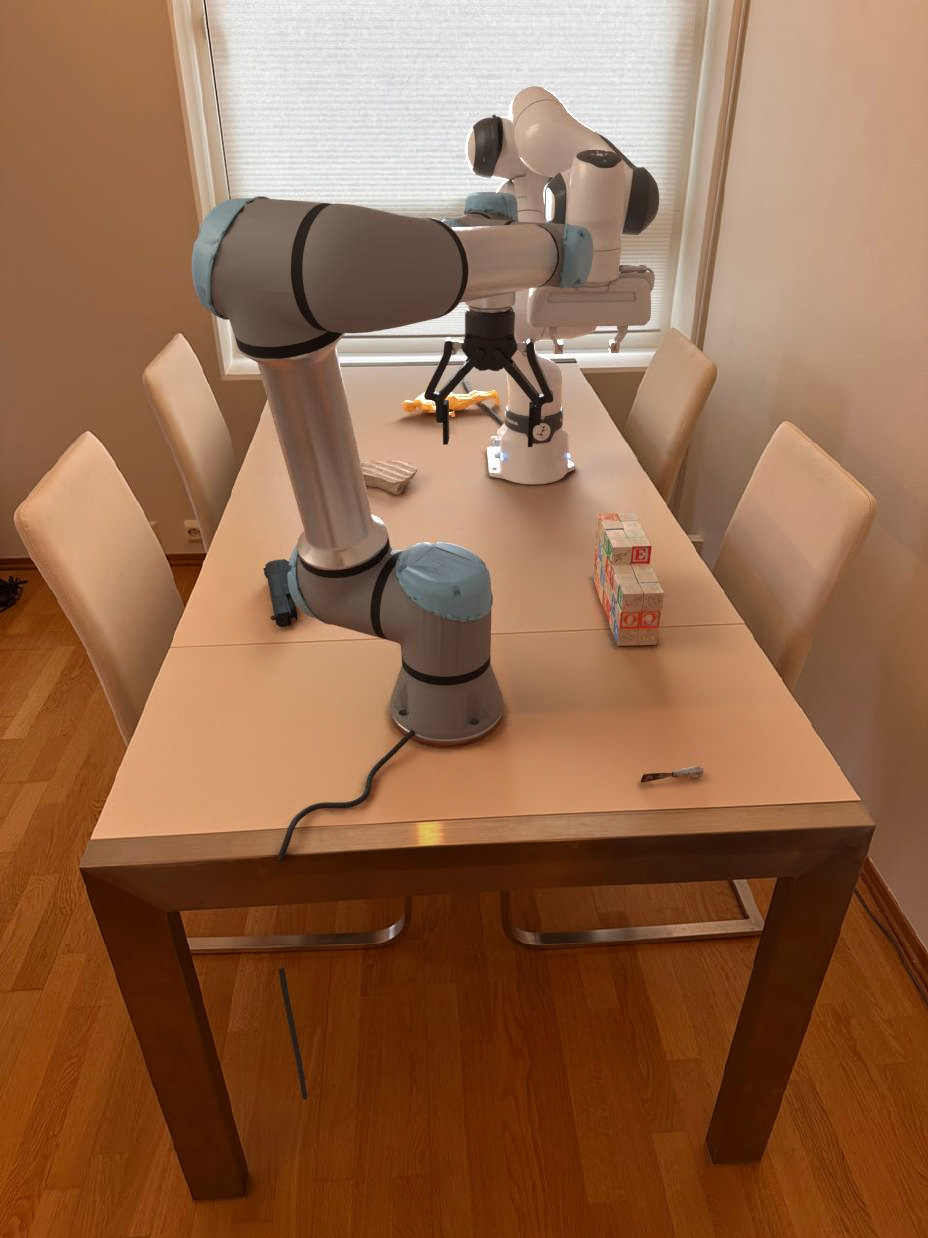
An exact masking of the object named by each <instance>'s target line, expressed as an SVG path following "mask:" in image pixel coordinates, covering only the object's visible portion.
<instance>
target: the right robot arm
mask: <svg viewBox="0 0 928 1238" xmlns="http://www.w3.org/2000/svg"><path fill="white" fill-rule="evenodd" d="M465 154H466V159H467V162H468V166H469V169H470V171H471V172H472V174H473V175H474V176H476V177H479V178H482V179H486V180H491V179H497V180H498V179H499V180H504V181H503V182H502V183H501V184H500V185H499V186H498V188H497V190H496V192H504V193H510V194H513V195H514V196H515V197H516V199H517V205H518V220H519V222H536V223H551V224H569V225H575V226H582V227H585V228H587V229H588V230H589V232H590V234H591V236H592V240H593V260H592V266H591V270H590V273H589V276H588V278H587V280H586V282H585V283H584V284H583V285H582V286H581V287H579V288H562V289H560V288H559V287H550V286H543V287H538V288H532V289H527V290H522V291H517V292H516V295H515V304H514V305H513V306H512V308H513V309H514V310H515V332H514V337H515V340H516V342H523V341H527V340H528V339H533V340H534V343H535V344H536V343H537V342H542V341H543V342H544V341H552V353H553V355H563V354H564V342H563V340H564V341H565V340H573V339H577V338H582V337H583V336H588V335H592V334H594V333H595V331H596V330H597V329H598V328H599V327H616V330H617V331H618V332H617V334H616V336H615V337H614V339H609V340H608V352H609V353H610V354H619V353H620V348H621V347H620V344H621V343H622V342H623V340H624V338H625V337H626V336H627V334H628V331H629V327H639V326H640V327H641V326H646V325H647V324H648V323H649V322H650V320H651V317H652V296H651V295H652V294H651V293H652V292H653V290H654V287H655V279H656V276H655V272H654V271H653V270H652V268H650V267H648V265H646V264H638V265H631V264H621V255H622V239H621V235H625V236H626V235H628V236H639V235H641V233H643V231H645V230H646V229H647V228H648V227H649V226H650V225H651V224H652V223H653V222H654V220H655V219H656V217H657V214H658V212H659V208H660V191H659V185H658V183H657V181H656V179H655V178H654V176H653V175H652V174H651V173H650V171H648V169H647V168H645V167H643V166H640V167H639V166H636V165H635V163H633V162H632V161H631V160H630V159H629V158H628V157H627V156H626V155H625V154H624V153H623V152H622V151H621V150H620V149H619V148H618V147H616V145H614V143H612V141H610V140H609V139H608V138H607V137H605V136H604V135H602V134H601V133H599V132H598V131H595V130H594V129H592V128H590V127H589V126H587V125H585V124H584V123H582V122H581V121H580V120H578V119H577V118H576V117H574V116H573V115H572V114H571V113H570V112H569V110H568V108H567V107H566V105H565V104H564V103H563V102H562V101H561V99H560V98H558V96H556V95H555V94H554V93H553V92H551V91H550V90H548V89H547V88H545V87H542V86H538V85H533V86H528V87H525V88H523V89H522V90H520V91H519V92H518V93H517V94H516V95H515V96H514V98H513V99H512V101H511V103H510V105H509V110H508V115H507V116H498V115H496V114H495V113H494V114H491V115H490V116H489V117H484V118H482V119H479V120H477V121H476V122H474V123H473V124H472V126H471V127H470V129H469V133H468V135H467V139H466V144H465ZM535 354H536V356H537V358H538V360H539V363H540V365H541V367H542V369H543V372H544V374H545V376H546V378H547V380H548V383H549V385H550V387H551V389H552V392H553V402H551V403H545V404H543V405H542V408H541V423H540V425H539V426H536V425H533V444H532V447H528V426H529V403H530V402H532V401H531V400H530V399H529V398H528V396H527V395H526V394H525V393H524V391H523V390H522V389H521V388H520V386H519V385H518V384H517V383H516V382H515V380H514V379H513V378H512V377H511V375H509V374H508V373H507V371H506V370H505V372H506V377H507V378H506V380H507V405H506V407H505V411H504V419H502V418H501V417H500V416H499V415H497V413H495V411H493V410H492V409H491V408H489V407H488V406H487V405H486V404H485V403H484V402H483V401H482V402H478V403H477V404H478V405H480V406H481V407H482V408H483V409H484V410H485V411H487V412H488V413H489V414H490V415H491V416H492V417H493V418H495V419H496V421H498V422H499V423H500V424H501V426H500V427H499V428H498V429H497V432H496V436H491V437H490V446H489V447H487V449H486V458H487V469H488V476H489V477H491V478H496V479H503V480H506V481H508V482H512V483H516V484H522V485H546V484H552V483H555V482H558V481H560V480H562V479H563V478H564V477H565V476H566V474H568V473H571V472H572V471H574V470H575V464H574V463H573V462H572V461H571V460H569V459H571V454H570V453H569V433H568V432H567V431H566V430H565V429H564V428H563V425H564V416H565V415H564V408H563V406H562V403H563V386H564V385H563V384H564V383H563V381H564V374H563V371H562V369H561V367H560V365H558V363H556V362H555V361H554V360H552V359H550V358H548V357H546V356H544V355H542V354H540V353H538V352H537V351H536V350H535ZM512 359H513V361H514V362H515V363H516V365H517V367H518V368H519V369H520V370H521V372H522V373H523V374H524V375H525V377H526V378H527V379H528V380H529V382H530V383H531V384H532V385H533V387H534V388H535V389H536V390H537V392H538V393H539V394H543V393H542V391H541V389H540V386H539V384H538V382H537V380H536V378H535V375H534V373H533V371H532V369H531V367H530V365H529V362H528V359H527V356H523V355H522V353H521V351H519V350H517V351H516V352H515V354H514V355H513V356H512ZM462 382H463V385H464V387H465V389H466V391H467V393H468V394H469V393H471V392H473V391H472V390H471V388H470V386H469V384H468V382H467V379H466V378H465V377H464V378H463V379H462Z"/></svg>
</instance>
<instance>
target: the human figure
mask: <svg viewBox="0 0 928 1238" xmlns="http://www.w3.org/2000/svg"><path fill="white" fill-rule="evenodd" d="M424 391H426V389H424ZM424 394H425V392H423V393H422V394H420V395H418V396H416V398H415V399H414V400H404V401H403V402H402V411H404V412H405V413H410V414H412V413H414V412H417V408H418V409H420V410H421V411H423V412H424V413H427V414H436V404H435V402H434V401H431V400H426V399H425V398H424ZM445 400H449V416H450V417H451V418H452V417H453V418H454V417H455V416H456V414H455V411H462V410H464V409H467V408H469V407H471V406H473V405H476V404H479V403H478V402H482V403H483V402H484V401H488V400H493V402H494V403H495V404H496V405H497V406H500V398H499V393H498V392H497V391H496V390H495V389H493V390H491V391H478V390H473V391H472V392H471V393H469V392H468V394H460V393H457V394H455V393H453V392H451V393H450V394H449V395H448V397H447V398H446V399H445ZM450 410H452V411H450Z"/></svg>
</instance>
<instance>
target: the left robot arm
mask: <svg viewBox="0 0 928 1238" xmlns="http://www.w3.org/2000/svg"><path fill="white" fill-rule="evenodd" d="M464 202H465V203H464V210H463V215H458V216H454V217H445V218H443V219H437V218H433V217H415V216H411V215H404V214H399V213H395V212H390V211H386V210H382V209H377V208H372V207H369V206H362V205H356V204H351V203H339V202H338V203H336V202H335V203H330V202H322V201H321V202H320V201H308V200H307V201H306V200H305V201H304V200H293V199H292V200H290V199H277V198H270V197H268V196H263V195H262V196H260V195H257V196H254V197H235V198H230V199H226V200H224V201H222V202H220V203H218V204H216V205H215V206H214V207H213V208H212V209H211V210H210V211H209V212H208V213H207V214H206V216H205V217H204V219H203V220H202V222H201V224H200V226H199V228H198V233H197V234H198V235H197V238H196V240H194V243H193V246H192V254H191V276H192V277H191V278H192V284H193V288H194V290H195V293H196V296H197V298H198V300H199V301H200V304H201V305H202V306H203V308H205V309H206V311H208V312H211V313H212V315H214V316H215V317H217V318H219V319H222V320H225V321H229V323H230V326H231V329H232V333H233V336H234V340H235V343H236V346H237V349H238V352H240V354H241V355H243V356H244V357H246V358H247V359H250V360H251V361H253V362H255V363H257V367H258V370H259V373H260V378H261V382H262V385H263V388H264V392H265V396H266V399H267V402H268V406H269V410H270V413H271V416H272V420H273V423H274V427H275V431H276V434H277V438H278V441H279V445H280V449H281V453H282V456H283V459H284V463H285V466H286V470H287V473H288V477H289V481H290V485H291V488H292V491H293V495H294V499H295V502H296V506H297V509H298V513H299V516H300V521H301V523H302V527H303V530H302V532H301V533H300V535H299V536H298V538H297V542H296V544H295V546H294V548H293V550H292V552H291V555H290V557H289V560H288V561H289V565H290V566H291V571H290V572H288V575H287V576H288V587H289V591H290V594H291V597H292V599H293V601H294V603H295V604H296V608H297V609H299V611H301V613H303V614H305V616H308V617H311V618H313V619H315V620H318V621H319V622H321V623H323V624H326V625H328V626H329V625H330V626H335V627H340V628H343V629H346V630H350V631H354V632H358V633H361V634H365V635H368V636H371V637H374V638H375V637H376V638H379V639H383V640H386V641H390V642H393V643H396V644H399V645H400V655H401V667H400V669H399V672H398V675H397V678H396V681H395V684H394V687H393V690H392V693H391V696H390V718H391V721H392V724H393V725H394V727H395V728H396V729H397V731H398V732H399V733H400V734H402V735H403V737H402V738H401V739H400V740H399V741H398V742H397V743H396V744H395V746H393V747H392V748H391V749H390V750H389V751H388V752H387V753H386V754H385V755H384V756H383V757H381V759H379V761H377V762H376V764H375V765H374V766H373V767H372V768H371V770H370V771H369V773H368V775H367V777H366V781H365V787H364V791H363V793H362V794H361V795H360V796H359V797H357V798H355V799H353V800H350V801H338V802H337V801H336V802H334V801H331V802H330V801H329V802H328V801H327V802H326V801H325V802H318V803H314V804H311V805H309V806H306V807H305V808H304V809H302V810H301V811H299V812H298V813H297V814H296V815H294V817H293V818H292V819H291V821H290V822H289V825H288V827H287V829H286V832H285V835H284V838H283V841H282V844H281V847H280V849H279V852H278V854H277V855H278V856H277V861H281V862H282V860H284V859H285V857H286V853H287V851H288V848H289V845H290V842H291V839H292V836H293V833H294V831H295V828H296V827H297V824H298V823H300V822H301V820H302V819H303V818H305V817H306V816H307V815H309V814H310V813H313V812H314V811H318V810H323V809H337V810H338V809H350V808H354V807H357V806H359V805H361V804H362V803H364V802H365V801H366V800H367V799H368V797H369V796H370V793H371V791H372V785H373V780H374V777H375V776H376V774H377V773H378V772H379V771H380V769H381V768H382V767H383V766H384V765H385V764H386V763H387V762H388V761H389V760H390V759H392V758H393V757H394V756H395V755H396V754H397V752H399V751H400V750H401V749H402V747H404V745H406V743H407V742H409V741H410V740H411V741H413V742H415V743H417V744H420V745H421V744H422V745H425V746H430V747H437V748H454V747H455V748H457V747H463V746H467V745H471V744H473V743H476V742H480V741H481V740H483V739H485V738H486V737H488V736H489V735H491V734H492V733H493V732H494V731H495V730H496V729H498V727H499V726H500V724H501V722H502V720H503V717H504V697H503V693H502V690H501V687H500V685H499V682H498V679H497V677H496V674H495V672H494V668H493V666H492V664H491V654H492V653H491V651H492V649H491V648H492V647H491V645H492V611H493V610H492V608H493V607H492V606H493V603H494V602H493V601H494V596H493V591H492V580H491V579H492V578H491V574H490V570H489V568H488V567H487V565H486V563H485V562H484V560H483V559H482V558H481V557H480V556H479V555H477V554H476V553H474V552H473V551H471V550H470V549H468V548H466V547H464V546H460V545H458V544H455V543H451V542H444V541H435V543H431V542H429V541H424V542H418V543H415V544H413V545H410V546H408V547H407V548H405V549H403V550H401V549H396V548H393V547H392V545H391V542H390V537H389V531H388V528H387V525H386V524H385V523H384V521H382V520H381V518H379V517H378V516H376V515H374V514H372V510H371V505H370V501H369V496H368V491H367V485H365V481H364V476H363V471H362V467H361V463H362V462H361V458H360V454H359V449H358V444H357V440H356V435H355V429H354V425H353V421H352V414H351V412H350V411H351V410H350V406H349V403H348V397H347V396H348V395H347V392H346V387H345V384H344V377H343V374H342V369H341V364H340V360H339V355H338V349H337V345H338V343H339V342H340V341H341V340H342V338H343V337H344V335H345V334H368V333H374V332H380V331H385V330H391V329H396V328H401V327H406V326H410V325H414V324H419V323H422V322H427V321H432V320H436V319H439V318H442V317H444V316H447V315H448V314H450V313H452V312H453V311H454V310H455V309H456V308H457V307H458V306H459V305H460V304H462V303H464V304H465V305H466V306H467V308H466V309H465V310H464V338H463V340H459V339H454V338H453V337H452V336H448V337H446V339H445V341H444V343H443V352H442V353H443V354H442V356H441V358H440V360H439V362H438V363H437V366H436V368H435V370H434V372H433V374H432V376H431V378H430V381H429V383H428V385H427V386H426V389H425V390H426V391H425V390H424V391H425V392H424V393H425V394H424V398H425V399H426V400H431V401H434V402H435V404H436V413H435V421H436V424H442V445H443V446H448V445H449V441H450V415H449V412H450V410H449V400H445V399H446V398H447V397H448V395H449V394H450V393H453V391H454V390H455V389H456V388H457V386H459V384H460V383H461V382H462V381H463V378H465V377H466V376H467V375H468V374H469V373H470V372H471V371H472V370H473V369H475V370H478V371H479V372H485V371H488V370H489V371H493V372H500V371H501V370H503V369H504V370H505V372H506V371H507V372H506V374H507V373H508V374H509V375H511V377H512V378H513V379H514V380H515V382H516V383H517V384H518V385H519V386H520V388H521V389H522V390H523V391H524V393H525V394H526V395H527V396H528V398H529V399H530V400H531V401H532V402H530V403H529V426H528V447H532V444H533V425H536V426H539V425H540V423H541V408H542V405H543V404H545V403H551V402H553V392H552V389H551V387H550V385H549V383H548V380H547V378H546V376H545V374H544V372H543V369H542V367H541V365H540V363H539V360H538V358H537V356H536V354H535V351H536V343H534V340H533V339H528V340H527V341H523V342H516V340H515V337H514V332H515V310H514V309H513V308H512V306H513V305H514V304H515V295H516V292H517V291H522V290H527V289H532V288H538V287H543V286H550V287H559V288H560V289H562V288H579V287H581V286H582V285H583V284H584V283H585V282H586V280H587V278H588V276H589V273H590V270H591V266H592V260H593V240H592V236H591V234H590V232H589V230H588V229H587V228H585V227H582V226H575V225H569V224H551V223H536V222H519V220H518V205H517V199H516V197H515V196H514V195H513V194H510V193H504V192H497V191H478V192H472V193H469V194H467V196H466V198H465V200H464ZM459 350H462V352H463V354H464V355H465V356H466V357H467V358H466V359H465V360H464V361H463V363H462V364H461V365H460V367H459V368H458V369H457V370H456V371H455V373H454V374H453V375H452V376H451V377H450V378H449V379H448V380H447V382H446V383H445V384H444V385H443V386H442V387H441V389H440V390H439V391H436V389H437V387H438V385H439V383H440V381H441V379H442V377H443V374H444V373H445V371H446V369H447V366H448V364H449V363H450V360H451V358H452V356H454V355H456V354H457V353H458V351H459ZM517 350H519V351H521V353H522V355H523V356H527V359H528V362H529V365H530V367H531V369H532V371H533V373H534V375H535V378H536V380H537V382H538V384H539V386H540V389H541V391H542V393H543V394H539V393H538V392H537V390H536V389H535V388H534V387H533V385H532V384H531V383H530V382H529V380H528V379H527V378H526V377H525V375H524V374H523V373H522V372H521V370H520V369H519V368H518V367H517V365H516V363H515V362H514V361H513V359H512V356H513V355H514V354H515V352H516V351H517ZM285 969H286V968H285V967H281V968H278V969H277V970H278V971H277V972H278V978H279V982H280V988H281V994H282V998H283V999H282V1000H283V1004H284V1010H285V1014H286V1019H287V1023H288V1029H289V1034H290V1038H291V1043H292V1048H293V1053H294V1059H295V1063H296V1069H297V1074H298V1080H299V1086H300V1092H301V1098H302V1099H301V1100H303V1101H306V1100H307V1099H308V1090H307V1084H306V1077H305V1073H304V1066H303V1060H302V1055H301V1051H300V1046H299V1040H298V1035H297V1034H298V1033H297V1030H296V1029H297V1028H296V1024H295V1020H294V1014H293V1010H292V1004H291V1000H290V993H289V988H288V983H287V976H286V970H285Z"/></svg>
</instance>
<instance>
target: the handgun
mask: <svg viewBox="0 0 928 1238" xmlns="http://www.w3.org/2000/svg"><path fill="white" fill-rule="evenodd" d="M289 561H290V560H287V559H285V558H282V559H281V558H280V559H274V560H270V561H268V562H267V563H266V564H265V565H264V567H263V575H264V576H265V578H266V579H267V584H268V589H269V594H270V600H271V604H272V610H273V615H270V618H269V619H270V620H272V621H275V625H276V626H277V627H279V628H287V627H292V624H293V619H295V621H298V619H299V616H298V607H297V606H296V604H295V603H294V601H293V599H292V597H291V594H290V591H289V587H288V576H287V575H288V572H290V571H291V566H290V565H289Z"/></svg>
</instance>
